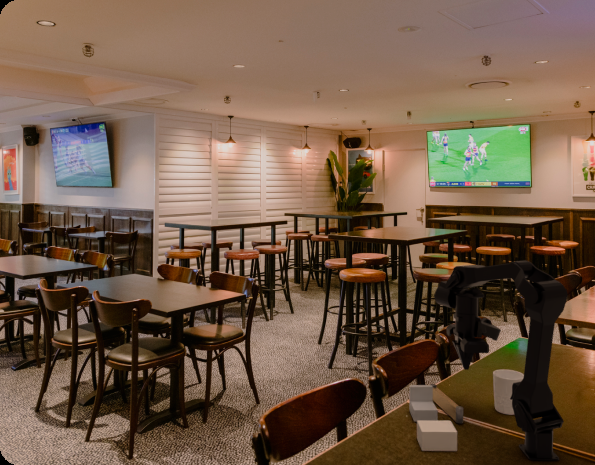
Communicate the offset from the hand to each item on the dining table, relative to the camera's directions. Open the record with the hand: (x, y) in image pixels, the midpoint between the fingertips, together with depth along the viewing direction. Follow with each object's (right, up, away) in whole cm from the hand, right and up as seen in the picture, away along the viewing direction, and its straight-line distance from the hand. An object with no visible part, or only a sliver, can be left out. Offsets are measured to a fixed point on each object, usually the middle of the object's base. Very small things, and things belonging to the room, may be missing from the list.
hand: (466, 369), depth 137 cm
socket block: (-13, -13, -17) cm, 25 cm away
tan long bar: (-5, -12, +2) cm, 13 cm away
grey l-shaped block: (-12, -12, -1) cm, 17 cm away
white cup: (+12, -12, +2) cm, 17 cm away
